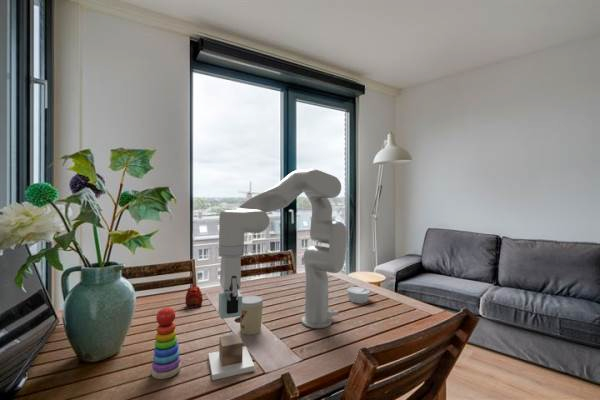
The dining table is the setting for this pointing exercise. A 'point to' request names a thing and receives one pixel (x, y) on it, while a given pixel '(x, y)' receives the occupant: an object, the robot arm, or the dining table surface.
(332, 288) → the dining table surface
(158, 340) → the stacking toy
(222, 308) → the teal block
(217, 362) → the base board
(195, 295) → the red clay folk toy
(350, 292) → the ramekin
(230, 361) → the walnut block
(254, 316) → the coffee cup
